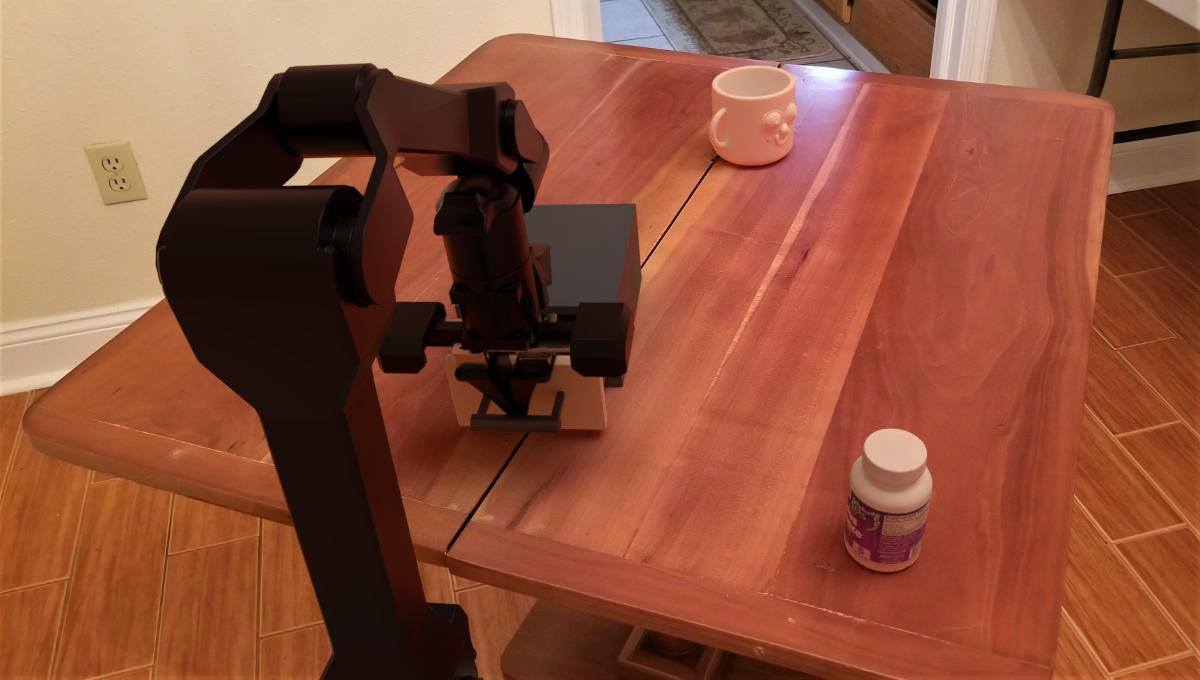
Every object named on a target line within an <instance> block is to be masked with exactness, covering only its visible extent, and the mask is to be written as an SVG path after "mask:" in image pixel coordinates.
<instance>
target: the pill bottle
mask: <svg viewBox="0 0 1200 680" xmlns="http://www.w3.org/2000/svg"><path fill="white" fill-rule="evenodd" d="M927 460H928V450H927V447H926V445H925V443H924V442H923V441H922V440H921V438H919V437H918V436H917V435H915V434H913V433H911V432H909V431H907V430H904V429H901V428H900V429H899V428H882V429H878V430H875V431H874V432H872V433H871V434H869V435H868V436H867V437H866V438H865V441H864V443H863V448H862V452H861V455H860V456H859V457H858V458H857V459H855V461H854V462H853V464H852V466H851V469H850V471H849V478H848V487H847V497H846V498H847V499H846V509H845V520H844V531H843V542H844V545H845V548H846V550H847V552H848V554H849V555H850V557H852V559H853V560H854V561H856V562H857V563H859V564H860V565H861V566H863V567H865V568H867V569H869V570H872V571H876V572H882V573H891V572H892V573H893V572H899V571H902V570H904V569H906V568H907V567H910V566H912V565H913V564H914V563H915V562H916V561H917V559H918V557H919V556H920V553H921V549H922V545H923V541H924V536H925V531H926V527H927V520H928V515H929V509H930V505H931V499H932V495H933V477H932V474H931V472H930V470H929V468H928V467H927Z"/></svg>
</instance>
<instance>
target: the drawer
mask: <svg viewBox="0 0 1200 680" xmlns="http://www.w3.org/2000/svg"><path fill="white" fill-rule="evenodd" d="M556 315H557V322H575V318H576V314H556ZM509 357H510V361H511V365H512V368H514V365H515V362H516V359H517V355H516V352H509ZM442 365H443V368H444V372H445V376H446V380H447V384H448V388H449V392H450V396H451V400H452V403H453V407H454V411H455V416H456V419H457V423H458V426H459V427H469V428H470V431H471V432H473V433H475V432H477V433H478V432H480V433H481V432H482V433H513V434H514V433H515V434H517V433H518V434H519V433H520V434H547V435H548V434H551V435H552V434H553V435H555V434H556V435H560V433H561V432H562V429H567V430H569V429H570V430H603V431H606V430H607V426H608V419H609V418H608V411H607V404H606V403H607V402H606V396H605V386H604V382H605V377H583V376H582V375H580V374H579V373H577V372H576V371H574V370H573V369H572V368H571V362H570V352H558V354H557V358H556V362H555V366H554V370H553V374H552V377H551V379H550V381H548V382H546V383H538V384H536V387H535V389H534V391H533V394H532V399H531V403H530V408H529V413H528V415H511V414H506V413H505V412H504V411H503V410H502V409H500V408H499V407H498V406H497V405H496V404H495V403H494V402H493V401H492V400H491V399H489V398H488V397H487V396H485V395H484V394H483V393H481V392H480V391H479V390H477V389H476V388H475V387H473V386H472V385H470V384H469V383H467V382H460V381H457V380H456V378H455V375H454V373H455V370H456V367H457V364H456V360H455V357H453V356H452V354H451V353H446V355H445V358H444V360H443V363H442Z"/></svg>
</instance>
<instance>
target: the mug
mask: <svg viewBox="0 0 1200 680" xmlns="http://www.w3.org/2000/svg"><path fill="white" fill-rule="evenodd" d="M798 110H799V109H798V107H797V103H796V78H795V77H794V75H793V74H792V73H791V72H789V71H787V70H785V69H782V68H780V67H775V66H769V65H747V66H745V65H744V66H739V67H734V68H731V69H728V70H724V71H723V72H721V73H719V74H718V75H717V76H715V77H714V79H713V80H712V83H711V116H712V117H711V122H710V125H709V128H708V138H709V139H708V140H709V141H710V144H711V146H713V149H714V151H715V153H716V154H717V155H718V156H719V158H721V159H723V160H725V161H726V162H729V163H731V164H736V165H740V166H763V165H768V164H772V163H775V162H777V161H779V160H781V159H783V158H784V157H786V156H787V155H788V153H790V151H791V150H792V148H793V144H794V132H795V119H796V118H797V117H798V112H799V111H798Z"/></svg>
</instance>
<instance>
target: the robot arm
mask: <svg viewBox="0 0 1200 680" xmlns="http://www.w3.org/2000/svg"><path fill="white" fill-rule="evenodd" d="M550 152H551V151H550V146H549V143H548V142H547V140H546V139H545V137H544V135H543V134H542V133H541V131H540V130H539V129H538V128H537V127H536V126H535V123H534V121H533V119H532V117H531V114H530V113H529V110H528V109H527V106H526V104H525V103H524V101H523V100H522V99H516V92H515V90H514V88H513V87H512V86H511V85H510V84H509V83H508V82H507V81H489V82H461V83H458V82H457V83H438V84H437V83H434V84H433V83H432V84H431V83H430V84H429V83H425V82H422V81H418V80H414V79H410V78H407V77H404V76H399V75H396V74H394V73H393V72H392V71H391V70H389V69H388V68H387V67H384V68H383V67H382V68H378V66H376V64H374V63H372V62H360V63H358V62H357V63H335V64H334V63H333V64H313V65H312V64H311V65H309V64H308V65H294V66H289V67H287V69H286V70H285V71H283V72H277V73H274V74H273V76H272V77H271V78H270V80H269V81H268V83H267V85H266V86H265V89H264V92H263V93H262V96H261V98H260V100H259V103H258V105H257V107H256V108H255V109H254V111H252V112H251V113H250V114H249V115H247V116H246V117H245V118H243V119H242V120H241V121H240V122H239V123H237V125H235V126H234V127H233V128H231V129H230V130H229V131H228V132H227V133H225V135H223V136H222V137H221V138H220V139H218V140H217V141H216V142H215V143H213V144H212V145H211V146H210V147H208V149H206V150H205V151H204V152H203V153H202V154H200V155H199V156H197V158H196V159H195V161H194V162H193V163H192V165H191V167H190V169H189V172H188V173H187V176H186V178H185V180H184V182H183V183H182V186H181V187H180V190H179V192H178V194H177V196H176V198H175V200H174V202H173V204H172V207H171V209H170V211H169V213H168V214H167V217H166V218H165V221H164V223H163V225H162V226H161V229H160V232H159V234H158V238H157V241H156V244H155V261H154V262H155V268H156V269H155V270H156V274H157V277H158V282H159V284H160V285H161V289H162V294H163V296H164V297H165V300H166V302H167V304H168V306H169V308H170V310H171V312H172V315H173V316H174V318H175V320H176V322H177V324H178V326H179V328H180V331H181V332H182V334H183V336H184V338H185V340H186V341H187V343H188V346H189V347H190V349H191V351H192V353H193V355H194V357H195V359H196V361H198V363H199V364H200V365H201V366H202V367H204V368H205V369H206V370H207V371H209V372H210V373H211V374H212V375H213V376H215V377H216V378H217V379H218V380H219V381H220V382H222V383H223V384H224V385H225V386H227V387H228V388H229V390H231V391H233V393H235V394H236V395H237V396H238V397H239V398H241V399H242V400H243V401H245V402H246V404H248V405H249V406H251V407H252V408H253V409H254V410H255V412H256V415H257V417H258V419H259V422H260V426H261V428H262V431H263V435H264V438H265V441H266V444H267V448H268V451H269V454H270V457H271V460H272V463H273V466H274V469H275V473H276V475H277V479H278V483H279V484H280V485H279V486H280V488H281V491H282V495H283V498H284V501H285V504H286V508H287V511H288V513H289V517H290V520H291V523H292V526H293V529H294V532H295V536H296V539H297V542H298V545H299V548H300V552H301V555H302V558H303V560H304V564H305V568H306V570H307V574H308V576H309V579H310V583H311V586H312V589H313V593H314V595H315V599H316V602H317V605H318V608H319V611H320V615H321V617H322V620H323V624H324V626H325V630H326V633H327V637H328V639H329V643H330V647H331V654H330V655H329V658H328V660H327V662H326V665H325V666H324V668H323V671H322V673H321V674H320V677H319V679H318V680H485V678H484V677H481V676H480V677H479V670H478V667H477V663H476V661H475V660H476V659H477V657H478V653H477V650H476V649H475V647H474V645H473V642H472V637H471V630H470V622H469V616H468V614H467V612H466V611H465V609H464V608H463V607H462V605H461V604H459V603H447V602H432V601H431V602H430V601H429V602H427V600H426V599H427V598H426V594H425V591H424V587H423V582H422V577H421V574H420V569H419V566H418V560H417V557H416V552H415V549H414V544H413V540H412V536H411V531H410V526H409V523H408V519H407V514H406V510H405V505H404V502H403V501H404V500H403V498H402V493H401V488H400V484H399V480H398V476H397V471H396V467H395V464H394V463H395V462H394V459H393V456H392V450H391V446H390V442H389V438H388V433H387V429H386V425H385V421H384V417H383V412H382V408H381V404H380V398H379V395H378V391H377V387H376V383H375V378H374V377H375V376H374V371H373V365H374V362H375V360H376V361H377V364H378V368H379V369H380V371H381V372H382V373H383V374H390V375H391V374H393V375H394V374H395V375H397V374H398V375H400V374H401V375H418V374H419V373H420V372H421V371H422V370H423V369H424V368H425V367H426V365H427V363H428V357H427V354H426V352H425V351H426V350H427V347H430V348H439V347H440V348H451V351H450V354H452V356H453V357H455V360H456V364H457V367H456V370H455V373H454V375H455V378H456V380H457V381H460V382H467V383H469V384H470V385H472V386H473V387H475V388H476V389H477V390H479V391H480V392H481V393H483V394H484V395H485V396H487V397H488V398H489V399H491V400H492V401H493V402H494V403H495V404H496V405H497V406H498V407H499V408H500V409H502V410H503V411H504V412H505V413H506V414H511V415H528V413H529V408H530V403H531V399H532V394H533V391H534V389H535V387H536V384H538V383H546V382H548V381H550V379H551V377H552V374H553V370H554V366H555V362H556V358H557V354H558V352H570V362H571V368H572V369H573V370H574V371H576V372H577V373H579V374H580V375H582V376H583V377H620V376H622V375H624V374H625V375H626V374H627V373H628V370H629V366H630V365H629V364H630V357H631V352H632V346H633V340H634V334H635V330H636V329H635V320H634V317H633V311H632V310H631V309H630V308H629V307H628V306H627V305H626V304H625V303H624V302H579V306H578V310H577V314H576V318H575V322H557V315H556V314H541V313H540V310H546V309H547V306H548V302H549V296H548V290H547V287H548V285H551V284H552V272H551V256H550V245H549V244H545V243H528V237H527V231H526V225H525V219H524V214H525V213H527V212H530V210H531V209H532V207H533V205H535V202H536V198H537V197H538V193H539V191H540V187H541V185H542V183H543V179H544V176H545V173H546V171H547V168H548V164H549V161H550V155H551V153H550ZM340 158H343V159H344V158H346V159H347V158H375V160H374V163H373V167H372V169H371V172H370V175H369V178H368V181H367V184H366V187H365V190H364V194H362V193H361V192H360V190H358V189H357V188H356V187H355V186H352V185H347V184H311V185H310V184H309V185H307V184H305V185H303V184H302V185H301V184H299V185H298V184H297V185H285V184H287V182H289V181H290V180H291V179H293V178H294V177H295V176H296V175H297V173H298V172H299V171H300V169H301V167H302V165H303V162H304V160H305V159H340ZM396 158H400V159H399V160H400V166H401V167H402V168H404V169H405V170H408V171H410V172H412V173H413V174H416V175H418V176H420V177H456V178H455V179H453V180H452V181H451V182H449V183H448V184H446V186H445V187H444V188H443V189H442V190H441V192H440V195H439V196H438V198H437V199H436V201H435V204H434V205H435V206H434V207H435V211H436V213H435V215H434V217H433V225H432V227H433V228H432V232H433V235H435V236H438V237H439V236H441V237H442V242H443V246H444V251H445V253H446V254H445V255H446V259H447V263H448V266H449V271H450V274H451V279H452V284H451V287H450V288H449V291H448V297H449V298H450V304H451V305H455V304H458V305H459V310H460V314H461V318H462V319H457V318H447V317H448V314H447V309H446V306H445V303H442V302H441V301H397V296H396V288H395V287H396V285H397V280H398V277H399V274H400V270H401V266H402V263H403V259H404V256H405V253H406V249H407V247H408V242H409V240H410V236H411V232H412V227H413V224H414V221H415V216H414V211H413V209H412V205H411V204H410V202H409V199H408V197H407V195H406V192H405V190H404V187H403V186H402V182H401V181H400V178H399V176H398V173H397V171H396V168H395V166H394V163H395V161H396ZM509 352H516V355H517V359H516V362H515V365H514V368H512V365H511V361H510V357H509Z"/></svg>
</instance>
